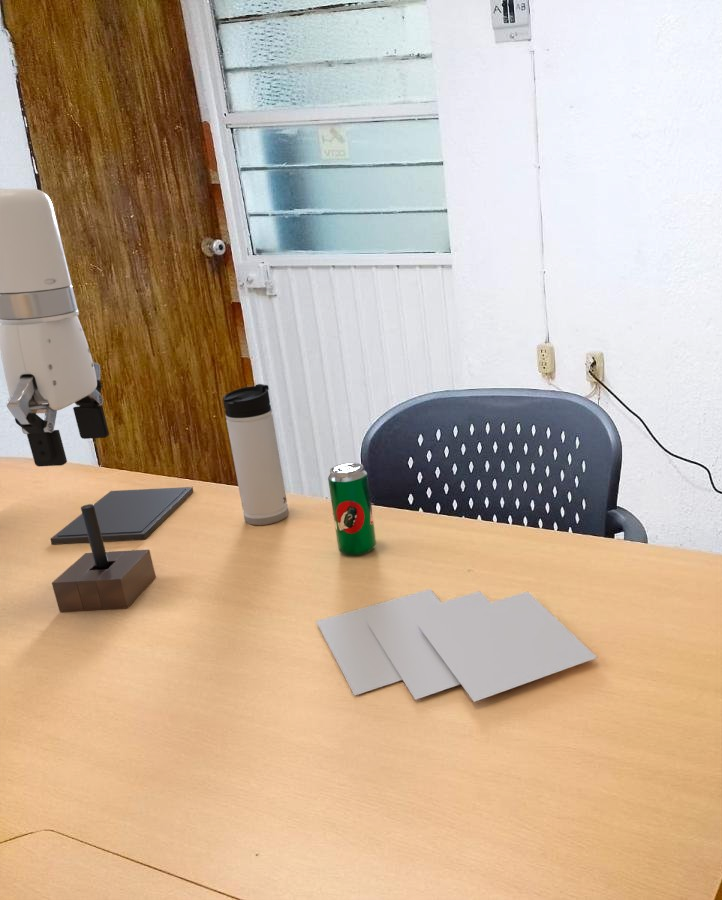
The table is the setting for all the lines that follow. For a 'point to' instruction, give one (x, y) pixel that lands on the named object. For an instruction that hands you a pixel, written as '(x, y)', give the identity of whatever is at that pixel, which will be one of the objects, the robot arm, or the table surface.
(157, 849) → the table surface
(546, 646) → the paper stack
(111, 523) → the tablet
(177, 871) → the table surface
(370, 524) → the soda can
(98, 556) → the stylus
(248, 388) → the travel mug
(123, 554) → the holder
